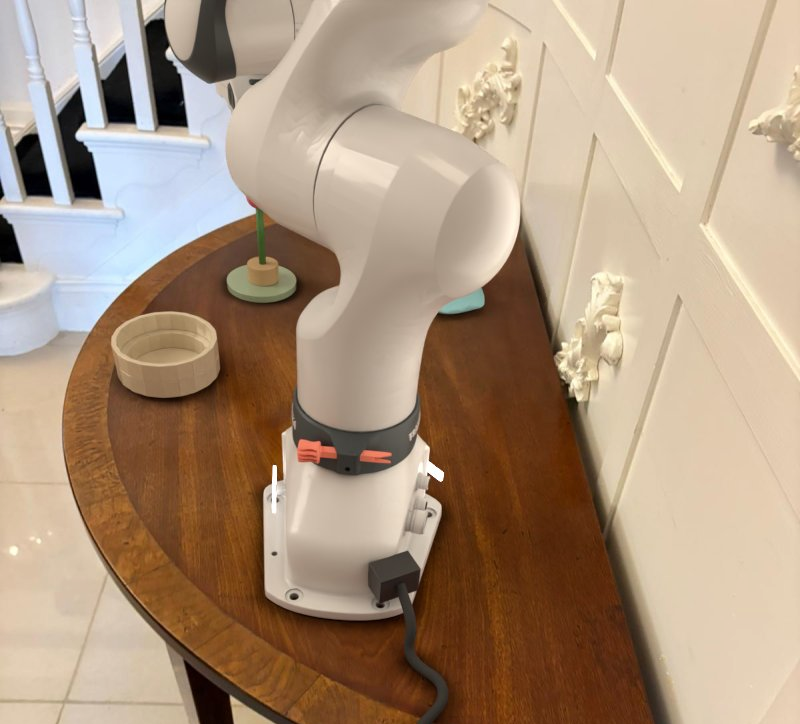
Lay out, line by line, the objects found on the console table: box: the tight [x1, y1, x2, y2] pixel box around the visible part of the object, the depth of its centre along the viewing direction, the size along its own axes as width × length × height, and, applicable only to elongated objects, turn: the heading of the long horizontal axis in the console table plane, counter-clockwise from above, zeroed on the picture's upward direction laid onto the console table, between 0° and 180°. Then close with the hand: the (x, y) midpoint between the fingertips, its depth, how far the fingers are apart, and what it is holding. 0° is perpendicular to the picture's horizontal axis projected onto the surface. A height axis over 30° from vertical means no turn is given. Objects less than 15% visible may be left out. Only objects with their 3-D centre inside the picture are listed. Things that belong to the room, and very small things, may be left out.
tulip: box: [245, 196, 279, 286], centre depth 109 cm, size 4×4×15 cm
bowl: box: [110, 310, 221, 399], centre depth 96 cm, size 12×12×5 cm
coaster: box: [226, 264, 297, 304], centre depth 114 cm, size 10×10×1 cm
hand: (258, 191), depth 105 cm, fingers closed on tulip, 3 cm apart
